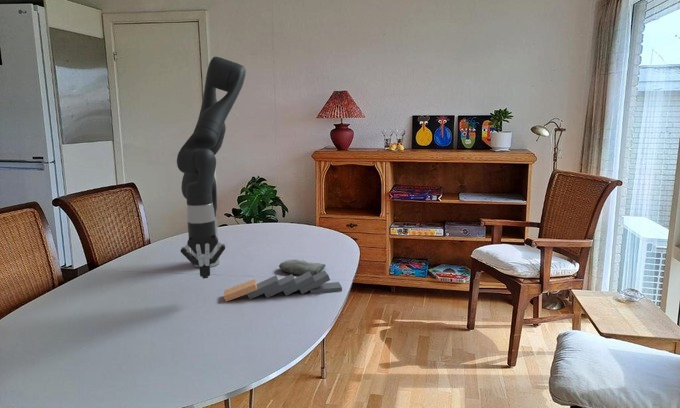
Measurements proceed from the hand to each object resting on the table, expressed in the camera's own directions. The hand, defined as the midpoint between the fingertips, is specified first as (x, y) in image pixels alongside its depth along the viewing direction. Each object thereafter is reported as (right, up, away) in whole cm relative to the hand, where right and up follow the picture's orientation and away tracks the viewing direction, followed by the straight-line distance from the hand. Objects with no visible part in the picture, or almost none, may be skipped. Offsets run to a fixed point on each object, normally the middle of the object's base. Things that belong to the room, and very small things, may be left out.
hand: (205, 277), depth 146 cm
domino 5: (+27, -4, +6) cm, 28 cm away
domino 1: (+5, -6, +2) cm, 8 cm away
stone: (+26, -2, +26) cm, 37 cm away
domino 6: (+30, -5, +7) cm, 31 cm away
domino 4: (+22, -5, +5) cm, 23 cm away
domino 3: (+17, -5, +4) cm, 18 cm away
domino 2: (+12, -5, +3) cm, 13 cm away
